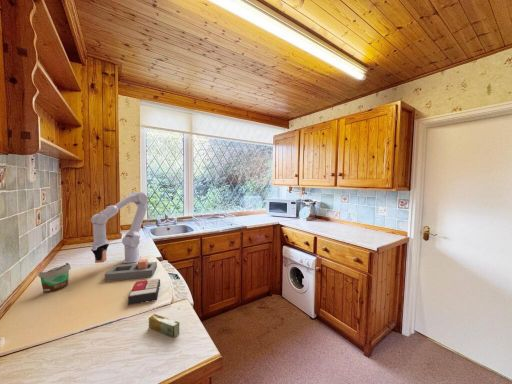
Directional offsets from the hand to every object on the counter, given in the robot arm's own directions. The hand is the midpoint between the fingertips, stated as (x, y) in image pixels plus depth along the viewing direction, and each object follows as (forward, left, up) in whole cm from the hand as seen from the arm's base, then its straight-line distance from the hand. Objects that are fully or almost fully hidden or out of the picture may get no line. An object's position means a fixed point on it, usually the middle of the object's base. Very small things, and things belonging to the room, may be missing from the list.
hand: (100, 258), depth 121 cm
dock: (+9, +19, -7) cm, 22 cm away
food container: (+18, -10, -7) cm, 22 cm away
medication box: (+60, +43, -7) cm, 74 cm away
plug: (0, 0, -2) cm, 2 cm away
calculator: (+33, +31, -7) cm, 45 cm away
